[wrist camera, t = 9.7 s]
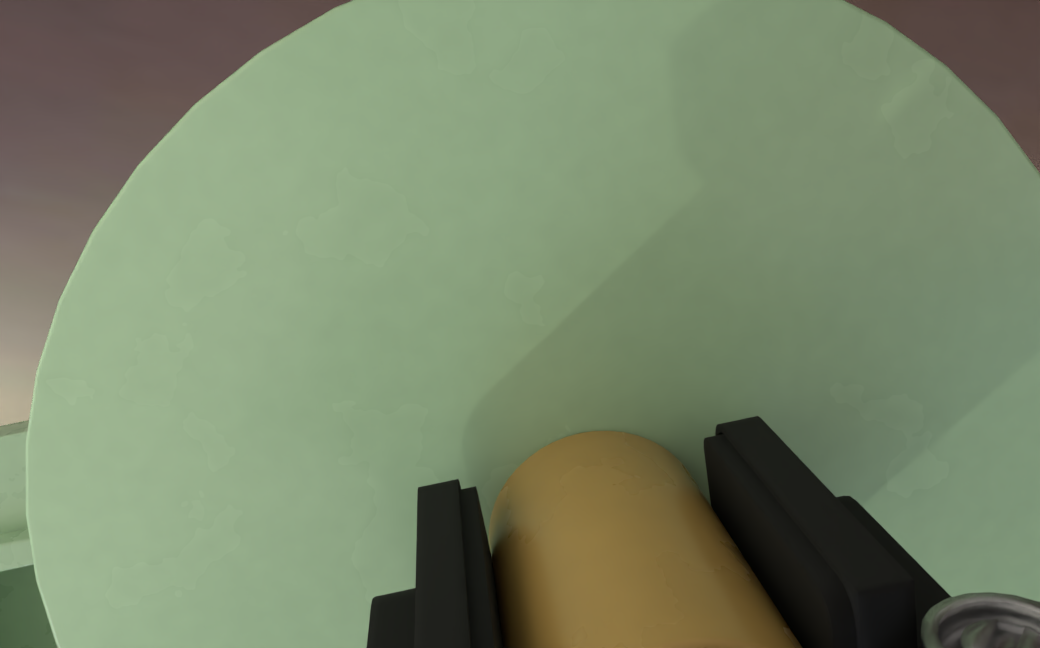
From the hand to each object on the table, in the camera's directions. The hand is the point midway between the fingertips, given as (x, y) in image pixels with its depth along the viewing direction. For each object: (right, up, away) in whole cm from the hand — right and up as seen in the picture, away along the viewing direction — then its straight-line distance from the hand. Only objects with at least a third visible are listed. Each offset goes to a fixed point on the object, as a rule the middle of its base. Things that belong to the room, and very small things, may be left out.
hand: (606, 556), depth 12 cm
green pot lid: (0, 0, +1) cm, 1 cm away
